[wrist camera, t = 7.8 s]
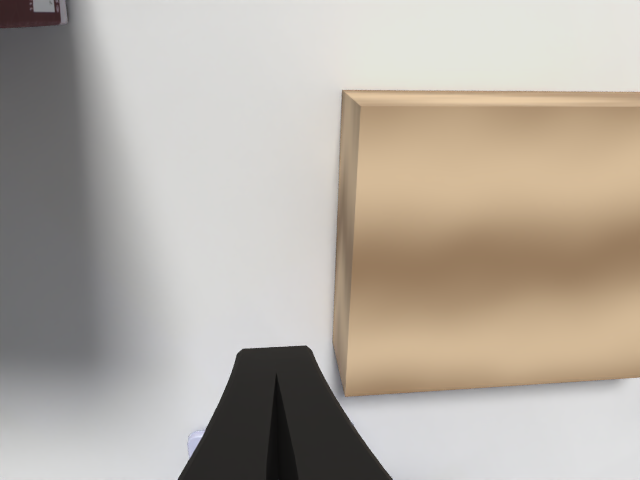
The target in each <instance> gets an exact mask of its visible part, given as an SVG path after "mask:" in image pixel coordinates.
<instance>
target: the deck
mask: <svg viewBox="0 0 640 480" xmlns="http://www.w3.org/2000/svg"><path fill="white" fill-rule="evenodd" d="M333 346H334V350H335V355H336V359H337V363H338V368H339V372H340V377H341V381H342V385H343V390H344V394H345V397H349V396H364V395H379V394H394V393H410V392H425V391H440V390H455V389H471V388H486V387H501V386H517V385H532V384H547V383H562V382H578V381H593V380H608V379H623V378H639V377H640V92H554V91H396V90H342V111H341V137H340V164H339V190H338V216H337V242H336V268H335V294H334V320H333Z"/></svg>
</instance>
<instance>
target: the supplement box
mask: <svg viewBox="0 0 640 480" xmlns="http://www.w3.org/2000/svg"><path fill="white" fill-rule="evenodd" d="M67 21H68V19H67V10H66V2H65V0H0V28H18V27H37V26H51V25H65V24H67Z"/></svg>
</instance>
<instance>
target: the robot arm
mask: <svg viewBox="0 0 640 480" xmlns="http://www.w3.org/2000/svg"><path fill="white" fill-rule="evenodd" d="M188 452H189V461H188V463H187V464H186V466H185V468H184V469H183V471H182V473H181V475H180V476H179V478H178V480H393V479H392V478H391V477H390V475H389V474H388V473H387V472H386V470H385V469H384V468H383V466H382V465H381V464H380V462H379V461H378V460H377V458H376V457H375V456H374V454H373V453H372V452H371V450H370V449H369V448H368V446H367V445H366V443H365V442H364V440H363V439H362V438H361V436H360V435H359V433H358V432H357V430H356V429H355V427H354V424H353V423H352V422H351V421H350V420H349V418H348V417H347V415H346V413H345V412H344V410H343V409H342V407H341V406H340V404H339V402H338V401H337V399H336V397H335V396H334V394H333V392H332V391H331V389H330V387H329V385H328V383H327V382H326V380H325V378H324V376H323V374H322V372H321V370H320V368H319V366H318V364H317V362H316V360H315V357H314V355H313V352H312V350H311V349H310V348H309V347H307V346H288V347H269V348H250V349H242V350H241V351H240V352H239V353H238V354H237V356H236V360H235V364H234V367H233V370H232V373H231V375H230V378H229V381H228V383H227V386H226V388H225V390H224V392H223V395H222V397H221V399H220V402H219V404H218V406H217V408H216V410H215V412H214V414H213V416H212V418H211V420H210V422H209V424H208V426H207V428H206V430H203V431H195V432H193V433H191V434H190V436H189V438H188Z"/></svg>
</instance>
